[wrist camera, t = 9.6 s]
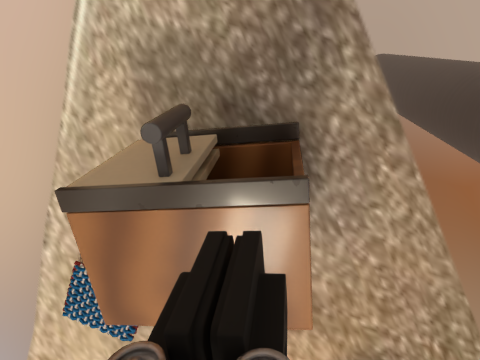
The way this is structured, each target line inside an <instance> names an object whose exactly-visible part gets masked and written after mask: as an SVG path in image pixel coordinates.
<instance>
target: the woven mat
mask: <svg viewBox="0 0 480 360" xmlns="http://www.w3.org/2000/svg"><path fill="white" fill-rule="evenodd" d="M74 264H75V266H74V268H73V275H72V276H71V279H70V280H71V283H70V284H69V286H70V287H69V288H68V292H67V298H66V300H65V307H64V308H63V311H65V312H66V313H65V312H63V315H62V316H68V318H69V319H71V320H77V322H79V321H80V322H81V323H82V324H83V325H84V326H85V324H87V326H88V327H89V325H90V327H91V328H98V330H99V331H101V332H102V333H106V332H107V334H108V335H109V334H110V335H111V336H112V337H118V339H120V340H122V341H132V339H133V338H134V336H132V334H136V330H137V328H138V326H135V325H105V322H104V319H103V316H102V314H101V311H100V308H99V305H98V302H97V299H96V297H95V294H94V291H93V288H92V285H91V282H90V280H89V277H88V274H87V271H86V268H85V265H84V263H83V260H82V257H81V259H80V262H78V261H76V262H75V263H74ZM93 301H94V302H93ZM82 318H83V319H82ZM103 322H104V323H103ZM92 323H93V324H92ZM95 324H96V325H95ZM106 328H107V329H106ZM122 335H123V336H122Z"/></svg>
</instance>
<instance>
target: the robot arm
mask: <svg viewBox="0 0 480 360" xmlns="http://www.w3.org/2000/svg"><path fill="white" fill-rule="evenodd" d="M108 360H289V358H288V357H287V286H286V274H275V273H265V267H264V254H263V242H262V233H261V231H243V234H242V235H237V237H236V240H235V244H234V239H233V236H232V235H227V232H226V231H208V233H207V235H206V237H205V240H204V242H203V244H202V246H201V249H200V251H199V253H198V255H197V258H196V260H195V262H194V264H193V267H192V269H191V271H190V272H182V273H181V274H180V275H179V277H178V279H177V281H176V283H175V285H174V287H173V289H172V291H171V293H170V296H169V298H168V300H167V302H166V304H165V306H164V308H163V310H162V312H161V314H160V316H159V318H158V320H157V322H156V324H155V326H154V328H153V330H152V332H151V335H150V337H149V339H148V341H139V342H134V343H131V344H129V345H126V346H124V347H122V348H121V349H119V350H118V351H117V352H115V353H114V354H113V355H112V356H111V357H110V358H109V359H108Z"/></svg>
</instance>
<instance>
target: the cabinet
mask: <svg viewBox="0 0 480 360" xmlns="http://www.w3.org/2000/svg"><path fill="white" fill-rule="evenodd" d="M188 132H189V136H200V135H213V134H216V135H217V143H216V144H215V145H217V144H232V143H246V142H261V141H276V140H290V139H299V123H298V122H293V123H280V124H267V125H254V126H240V127H227V128H214V129H201V130H188ZM172 137H177V133H176V131H175V132H171V133H170V134H169V135H167V136H166V138H172ZM55 194H56V197H57V199H58V202H59V205H60V208H61V211H62V212H68V213H67V217H68V220H69V223H70V226H71V229H72V231H73V234H74V237H75V240H76V243H77V246H78V248H79V251H80V254H81V257H82V260H83V263H84V265H85V268H86V271H87V274H88V277H89V280H90V282H91V285H92V288H93V291H94V294H95V297H96V299H97V302H98V305H99V308H100V311H101V314H102V316H103V319H104V322H105V325H135V326H155V324H156V322H157V320H158V318H159V316H160V314H161V312H162V310H163V308H164V306H165V304H166V302H167V300H168V298H169V296H170V293H171V291H172V289H173V287H174V285H175V283H176V281H177V279H178V277H179V275H180V274H181V273H182V272H190V271H191V269H192V267H193V264H194V262H195V260H196V258H197V255H198V253H199V251H200V249H201V246H202V244H203V242H204V240H205V237H206V235H207V233H208V231H226V232H227V235H232V236H233V239H234V244H235V240H236V237H237V235H242V234H243V231H261V233H262V242H263V254H264V267H265V273H275V274H286V286H287V329H303V330H312V329H313V324H312V286H311V248H310V211H309V202H310V198H309V176H308V175H304V169H303V162H302V156H301V150H300V143H299V140H292V141H278V142H263V143H248V144H233V145H218V146H214V147H213V149H212V150H211V152H210V153H209V155H208V156H207V158H206V159H205V161H204V162H203V164H202V165H201V166H200V168H199V169H198V171H197V172H196V174H195V175H194V177H193V178H192V180H191V181H179V182H159V183H139V184H119V185H100V186H80V187H60V188H59V189H57V190H55Z"/></svg>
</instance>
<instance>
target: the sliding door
mask: <svg viewBox="0 0 480 360" xmlns="http://www.w3.org/2000/svg"><path fill="white" fill-rule="evenodd" d="M190 116H191V110H190V108H189V107H188V106H187V105H185V104H179V105H177V106H175V107H173V108H172V109H170V110H168V111H166V112H165V113H163V114H161V115H159V116H158V117H156V118H154V119H152V120H151V121H149V122H147V123H145V124H144V125H143V126H142V128H141V136H142V138H143V140H137V141H136V142H134V143H133V144H131V145H130V146H128V147H126V148H125V149H123V150H122V151H120V152H119V153H117V154H116V155H114V156H113V157H111V158H110V159H108V160H107V161H105V162H104V163H102V164H101V165H99V166H97V167H96V168H94V169H93V170H91V171H90V172H88V173H87V174H85V175H84V176H82V177H81V178H79V179H78V180H76V181H75V182H73V183H72V184H70V185H68V186H67V187H80V186H100V185H119V184H139V183H159V182H179V181H191V180H192V178H193V177H194V175H195V174H196V172H197V171H198V169H199V168H200V166H201V165H202V164H203V162H204V161H205V159H206V158H207V156H208V155H209V153H210V152H211V150H212V149H213V147H214V146H215V144H216V143H217V135H216V134H213V135H200V136H189V132H188V126H187V120H188V119H189V118H190ZM175 129H176V133H177V137H172V138H166V136H167V135H169V134H170V133H171V132H172V131H174V130H175Z"/></svg>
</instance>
